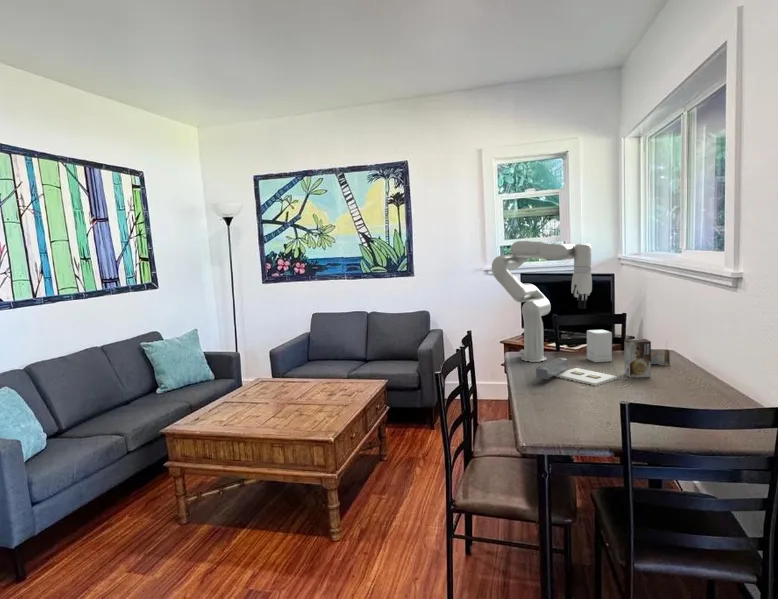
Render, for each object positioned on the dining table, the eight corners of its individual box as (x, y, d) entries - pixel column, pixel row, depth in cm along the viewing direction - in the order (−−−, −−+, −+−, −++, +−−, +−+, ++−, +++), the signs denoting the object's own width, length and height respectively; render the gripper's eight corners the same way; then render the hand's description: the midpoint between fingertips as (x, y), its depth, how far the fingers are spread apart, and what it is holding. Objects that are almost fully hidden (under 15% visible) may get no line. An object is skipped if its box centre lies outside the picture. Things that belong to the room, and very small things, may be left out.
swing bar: (558, 365, 223) (558, 357, 223) (569, 367, 220) (569, 358, 220) (536, 377, 206) (536, 368, 205) (547, 379, 202) (547, 370, 202)
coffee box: (644, 373, 213) (645, 338, 211) (651, 377, 207) (651, 341, 205) (623, 373, 214) (624, 338, 212) (629, 377, 208) (629, 341, 206)
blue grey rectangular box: (643, 366, 227) (644, 346, 226) (642, 364, 230) (642, 344, 229) (670, 366, 224) (670, 346, 223) (668, 365, 227) (668, 345, 226)
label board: (549, 375, 217) (549, 370, 217) (570, 369, 226) (570, 364, 226) (595, 386, 198) (595, 380, 198) (617, 378, 207) (617, 373, 206)
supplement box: (612, 361, 236) (612, 332, 235) (595, 362, 236) (595, 333, 234) (603, 357, 245) (603, 329, 244) (586, 358, 245) (586, 330, 243)
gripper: (585, 268, 231) (584, 306, 233) (565, 270, 223) (565, 309, 225) (599, 269, 225) (598, 307, 227) (579, 271, 217) (579, 310, 219)
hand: (582, 308), depth 226 cm, fingers closed
